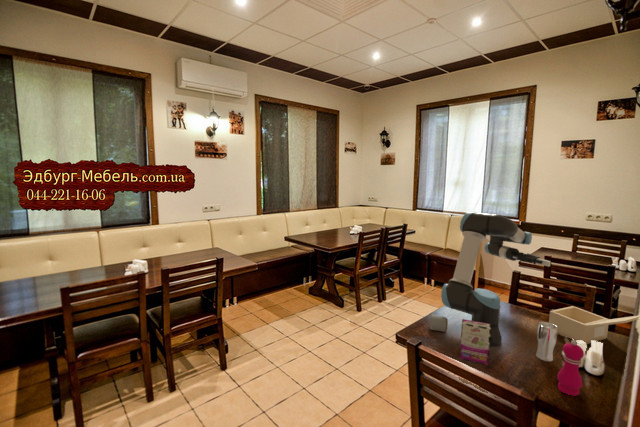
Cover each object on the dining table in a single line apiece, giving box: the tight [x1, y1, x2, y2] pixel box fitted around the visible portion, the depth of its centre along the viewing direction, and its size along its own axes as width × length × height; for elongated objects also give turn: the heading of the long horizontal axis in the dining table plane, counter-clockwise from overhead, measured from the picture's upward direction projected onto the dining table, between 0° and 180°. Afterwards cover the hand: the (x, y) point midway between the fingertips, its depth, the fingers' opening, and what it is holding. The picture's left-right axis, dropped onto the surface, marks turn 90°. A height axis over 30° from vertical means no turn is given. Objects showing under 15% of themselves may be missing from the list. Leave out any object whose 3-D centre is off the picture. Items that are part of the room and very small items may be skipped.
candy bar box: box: [459, 318, 491, 366], centre depth 134 cm, size 11×5×16 cm, turn 64°
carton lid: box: [586, 315, 639, 327], centre depth 141 cm, size 18×16×1 cm
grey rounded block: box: [429, 313, 449, 333], centre depth 161 cm, size 11×8×8 cm
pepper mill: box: [557, 340, 585, 396], centre depth 114 cm, size 7×7×20 cm
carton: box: [548, 305, 609, 345], centre depth 156 cm, size 18×16×10 cm
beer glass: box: [535, 321, 558, 363], centre depth 135 cm, size 7×7×15 cm
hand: (549, 263), depth 168 cm, fingers closed
